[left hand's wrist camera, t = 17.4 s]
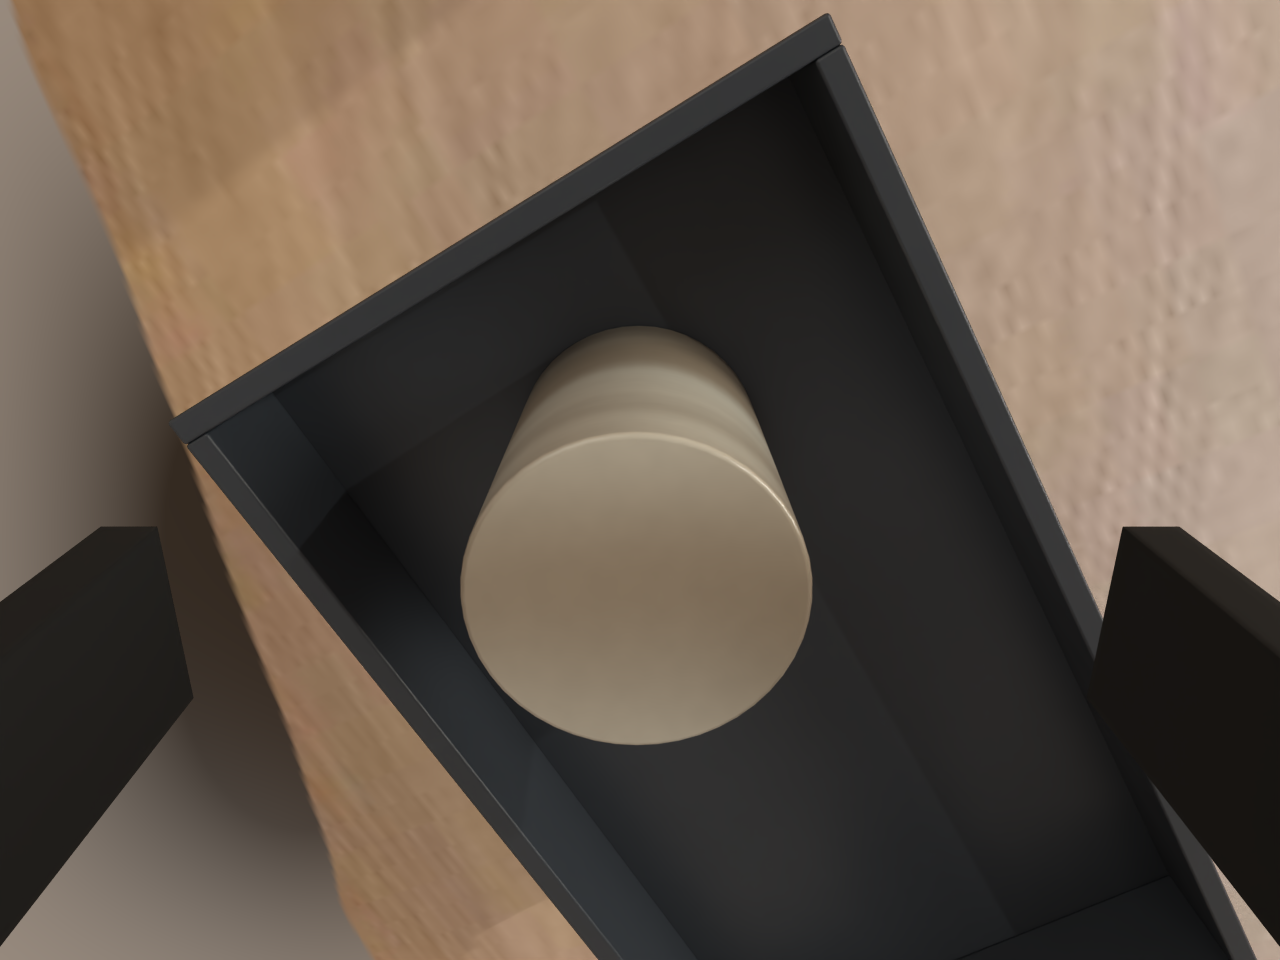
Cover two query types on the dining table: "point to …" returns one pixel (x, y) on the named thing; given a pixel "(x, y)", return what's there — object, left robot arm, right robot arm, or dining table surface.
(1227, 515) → the dining table surface
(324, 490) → the tray
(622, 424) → the cylinder
